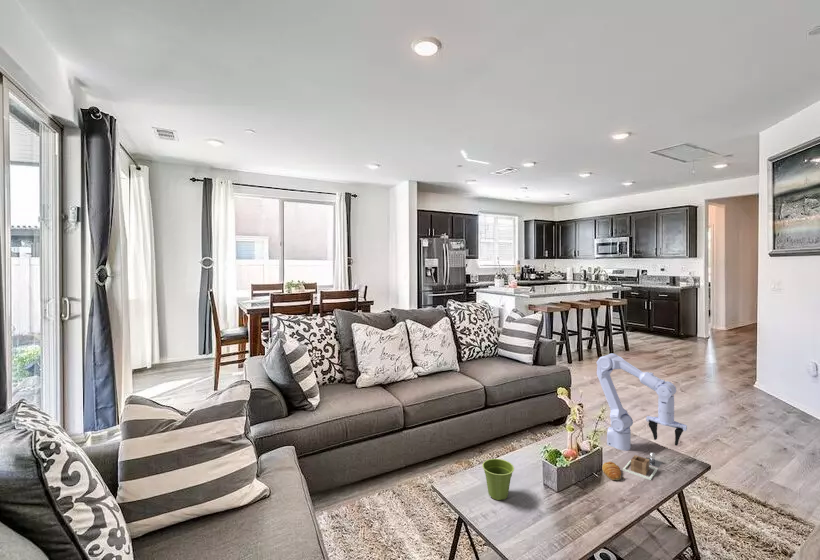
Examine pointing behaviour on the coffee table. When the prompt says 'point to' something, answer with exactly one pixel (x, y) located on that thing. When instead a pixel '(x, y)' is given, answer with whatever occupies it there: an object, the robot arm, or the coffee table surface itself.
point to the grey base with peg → (653, 460)
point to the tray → (640, 474)
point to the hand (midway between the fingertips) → (665, 441)
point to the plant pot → (498, 477)
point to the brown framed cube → (640, 465)
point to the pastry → (611, 471)
